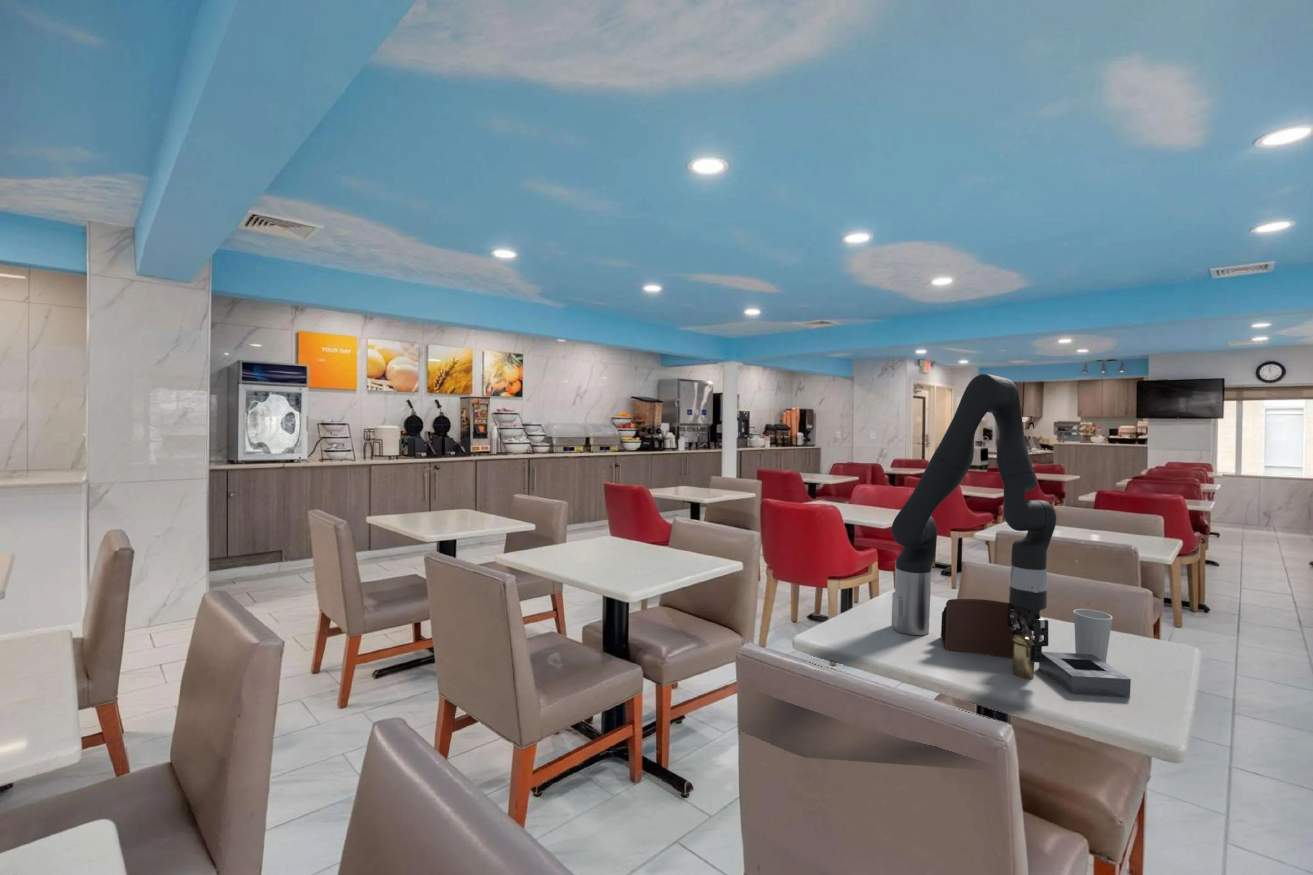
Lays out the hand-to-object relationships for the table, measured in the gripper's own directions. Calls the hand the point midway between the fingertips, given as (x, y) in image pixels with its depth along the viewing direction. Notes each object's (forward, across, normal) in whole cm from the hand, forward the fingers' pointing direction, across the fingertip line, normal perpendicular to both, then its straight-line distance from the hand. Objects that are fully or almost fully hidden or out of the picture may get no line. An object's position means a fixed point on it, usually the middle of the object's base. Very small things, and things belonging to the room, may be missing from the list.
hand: (1026, 654), depth 147 cm
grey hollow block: (+5, +2, +11) cm, 13 cm away
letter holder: (+5, -16, -2) cm, 17 cm away
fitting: (+5, 0, -1) cm, 5 cm away
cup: (+5, -11, +20) cm, 24 cm away
